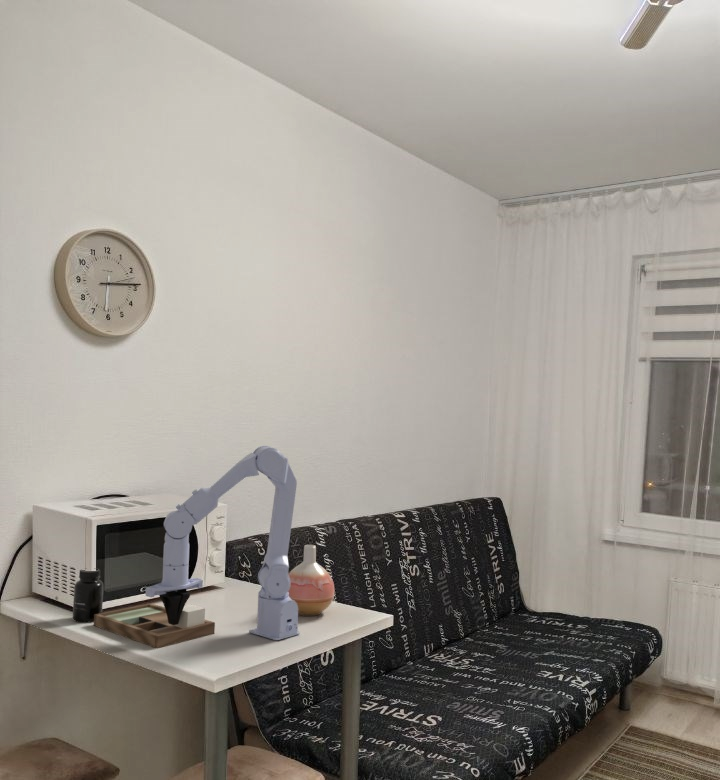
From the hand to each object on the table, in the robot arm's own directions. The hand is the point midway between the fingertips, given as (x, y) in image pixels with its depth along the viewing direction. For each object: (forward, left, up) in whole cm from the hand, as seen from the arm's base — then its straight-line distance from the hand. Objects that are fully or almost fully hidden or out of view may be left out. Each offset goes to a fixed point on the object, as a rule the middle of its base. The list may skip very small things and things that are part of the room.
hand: (173, 623), depth 177 cm
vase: (-6, -39, -3) cm, 39 cm away
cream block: (0, -5, -1) cm, 5 cm away
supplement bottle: (+27, +5, -3) cm, 28 cm away
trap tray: (+9, -1, -3) cm, 9 cm away
